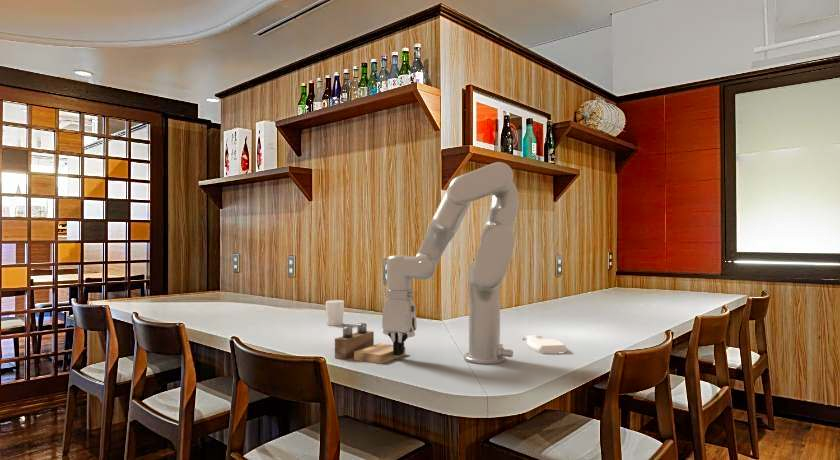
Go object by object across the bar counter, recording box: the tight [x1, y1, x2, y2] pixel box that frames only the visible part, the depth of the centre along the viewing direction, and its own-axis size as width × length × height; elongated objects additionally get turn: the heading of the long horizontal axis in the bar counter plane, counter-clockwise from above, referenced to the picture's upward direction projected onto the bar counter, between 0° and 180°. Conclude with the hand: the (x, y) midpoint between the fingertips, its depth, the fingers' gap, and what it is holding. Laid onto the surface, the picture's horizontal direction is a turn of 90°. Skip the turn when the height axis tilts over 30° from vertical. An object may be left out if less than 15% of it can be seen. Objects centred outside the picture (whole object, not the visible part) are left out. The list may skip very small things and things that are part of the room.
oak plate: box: [353, 343, 406, 365], centre depth 165 cm, size 10×14×3 cm
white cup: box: [325, 299, 345, 327], centre depth 225 cm, size 8×8×10 cm
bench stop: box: [334, 322, 375, 360], centre depth 169 cm, size 4×16×9 cm, turn 152°
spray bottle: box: [522, 334, 568, 354], centre depth 182 cm, size 3×11×24 cm
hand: (398, 354), depth 162 cm, fingers closed
